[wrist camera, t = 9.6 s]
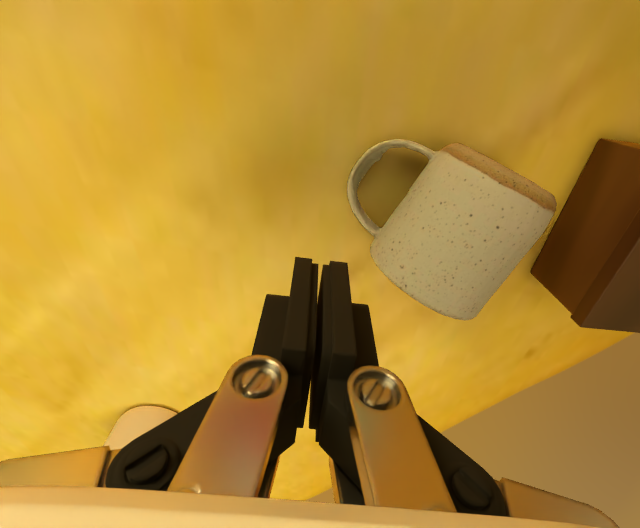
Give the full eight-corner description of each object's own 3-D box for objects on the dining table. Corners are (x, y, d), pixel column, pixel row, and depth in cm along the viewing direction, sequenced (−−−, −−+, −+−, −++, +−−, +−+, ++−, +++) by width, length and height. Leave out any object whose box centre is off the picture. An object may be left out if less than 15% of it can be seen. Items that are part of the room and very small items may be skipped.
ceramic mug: (523, 176, 22) (607, 223, 16) (448, 272, 26) (490, 342, 20) (384, 99, 20) (414, 115, 14) (324, 215, 24) (324, 273, 17)
